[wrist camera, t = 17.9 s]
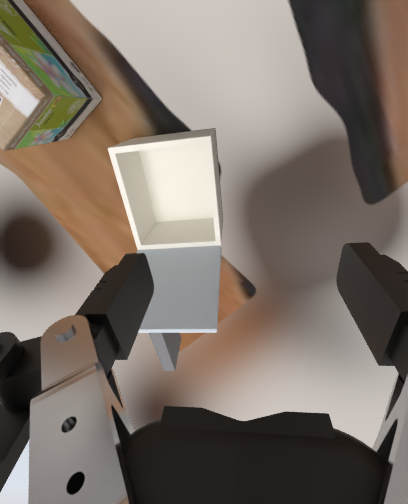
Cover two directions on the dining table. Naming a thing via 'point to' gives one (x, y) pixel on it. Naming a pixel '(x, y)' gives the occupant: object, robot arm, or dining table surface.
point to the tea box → (37, 83)
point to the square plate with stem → (181, 297)
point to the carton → (171, 189)
